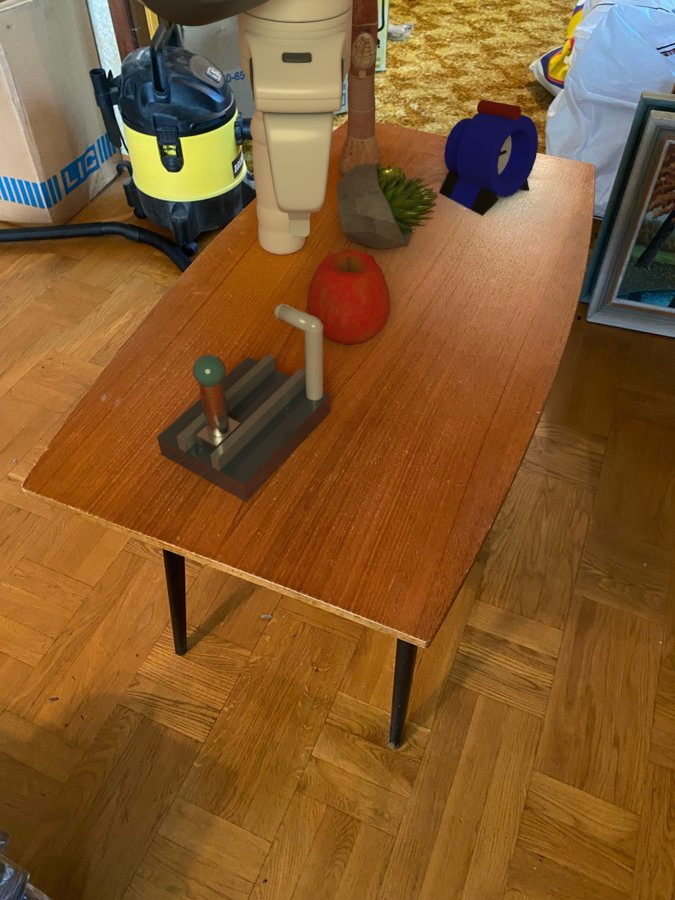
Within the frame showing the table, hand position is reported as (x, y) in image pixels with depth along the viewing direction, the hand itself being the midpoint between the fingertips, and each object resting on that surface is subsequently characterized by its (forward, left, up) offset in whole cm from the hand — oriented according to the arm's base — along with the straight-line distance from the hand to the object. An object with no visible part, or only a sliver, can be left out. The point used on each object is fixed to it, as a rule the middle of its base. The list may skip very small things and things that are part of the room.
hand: (297, 204), depth 66 cm
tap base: (-2, -8, -26) cm, 27 cm away
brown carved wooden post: (-24, +51, -26) cm, 62 cm away
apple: (-3, +15, -26) cm, 30 cm away
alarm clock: (-4, +58, -26) cm, 64 cm away
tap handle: (-2, -13, -23) cm, 26 cm away
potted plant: (-10, +36, -26) cm, 45 cm away
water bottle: (-22, +26, -26) cm, 43 cm away
